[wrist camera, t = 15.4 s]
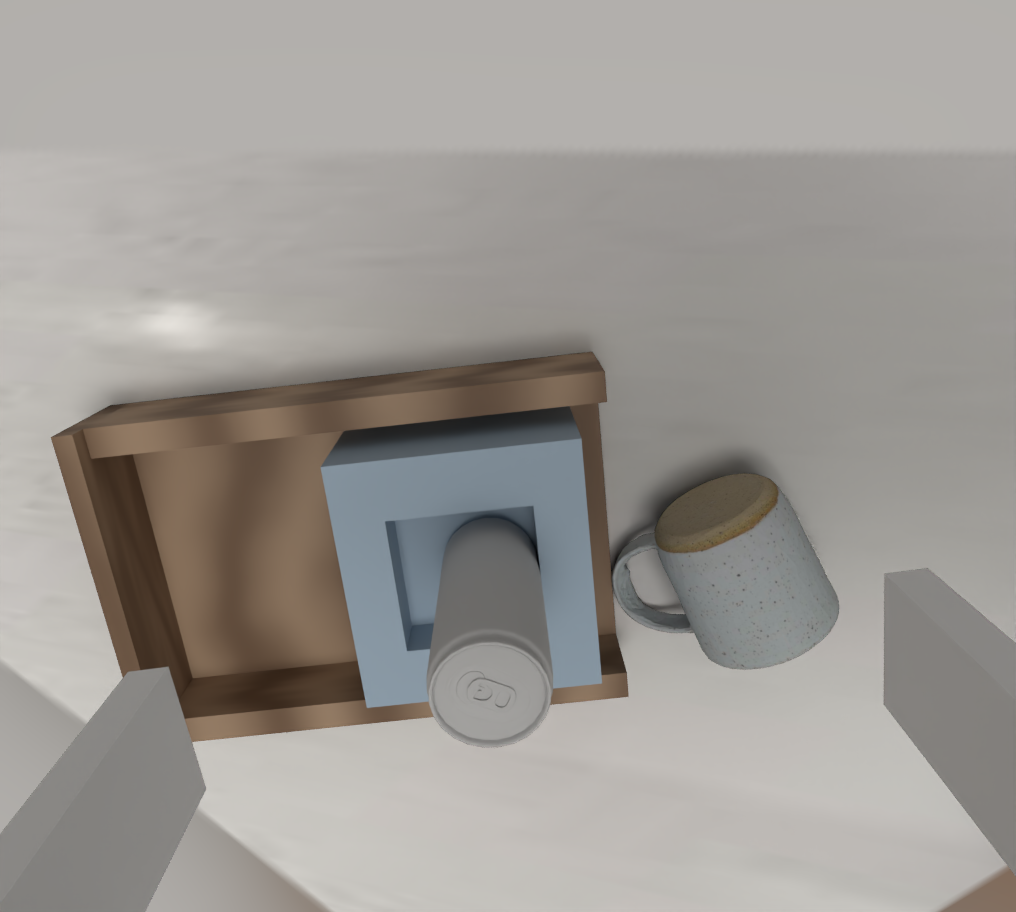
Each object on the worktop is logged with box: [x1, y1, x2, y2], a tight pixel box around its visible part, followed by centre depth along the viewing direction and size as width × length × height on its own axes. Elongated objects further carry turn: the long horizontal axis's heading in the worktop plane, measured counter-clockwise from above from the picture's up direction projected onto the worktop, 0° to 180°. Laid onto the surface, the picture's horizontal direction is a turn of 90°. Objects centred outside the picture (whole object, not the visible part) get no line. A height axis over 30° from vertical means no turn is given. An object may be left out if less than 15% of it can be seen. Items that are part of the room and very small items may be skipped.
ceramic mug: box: [612, 473, 839, 669], centre depth 42 cm, size 11×8×8 cm
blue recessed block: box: [321, 406, 602, 708], centre depth 41 cm, size 12×13×6 cm
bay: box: [51, 352, 628, 742], centre depth 42 cm, size 26×18×6 cm
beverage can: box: [426, 518, 553, 747], centre depth 35 cm, size 5×5×12 cm
